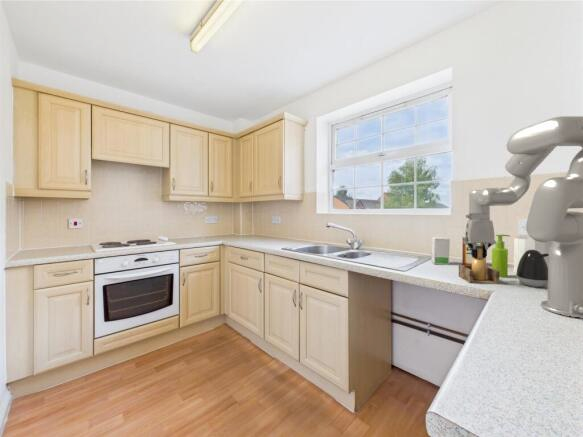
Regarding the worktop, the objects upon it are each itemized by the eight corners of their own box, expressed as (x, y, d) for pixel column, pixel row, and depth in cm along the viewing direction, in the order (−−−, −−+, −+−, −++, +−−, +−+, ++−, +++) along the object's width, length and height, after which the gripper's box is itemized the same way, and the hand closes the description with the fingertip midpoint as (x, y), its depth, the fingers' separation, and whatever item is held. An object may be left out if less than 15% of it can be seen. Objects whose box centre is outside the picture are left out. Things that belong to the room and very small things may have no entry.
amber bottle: (488, 280, 113) (488, 246, 113) (475, 279, 114) (475, 246, 114) (482, 277, 118) (482, 245, 118) (469, 276, 119) (469, 244, 119)
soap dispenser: (512, 277, 120) (513, 235, 119) (496, 277, 121) (496, 235, 120) (505, 274, 126) (505, 234, 125) (489, 274, 127) (489, 234, 126)
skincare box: (433, 264, 151) (433, 238, 150) (431, 262, 157) (431, 236, 156) (449, 265, 148) (450, 238, 148) (446, 262, 154) (446, 237, 154)
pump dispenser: (538, 290, 102) (539, 252, 101) (510, 283, 112) (510, 248, 111) (556, 287, 104) (557, 250, 104) (527, 281, 114) (527, 247, 114)
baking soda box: (463, 264, 148) (463, 237, 147) (462, 262, 154) (462, 236, 153) (483, 266, 143) (483, 238, 142) (481, 264, 149) (482, 236, 148)
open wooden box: (499, 284, 110) (499, 271, 110) (469, 283, 113) (469, 270, 113) (485, 277, 121) (485, 265, 121) (458, 276, 124) (458, 265, 124)
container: (519, 276, 123) (519, 239, 122) (509, 270, 135) (510, 236, 135) (560, 279, 116) (561, 240, 115) (546, 272, 129) (547, 237, 128)
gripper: (462, 217, 113) (462, 259, 114) (505, 217, 110) (504, 259, 111) (455, 217, 121) (455, 256, 121) (495, 216, 117) (494, 256, 118)
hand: (478, 257), depth 116 cm, fingers closed on amber bottle, 2 cm apart
